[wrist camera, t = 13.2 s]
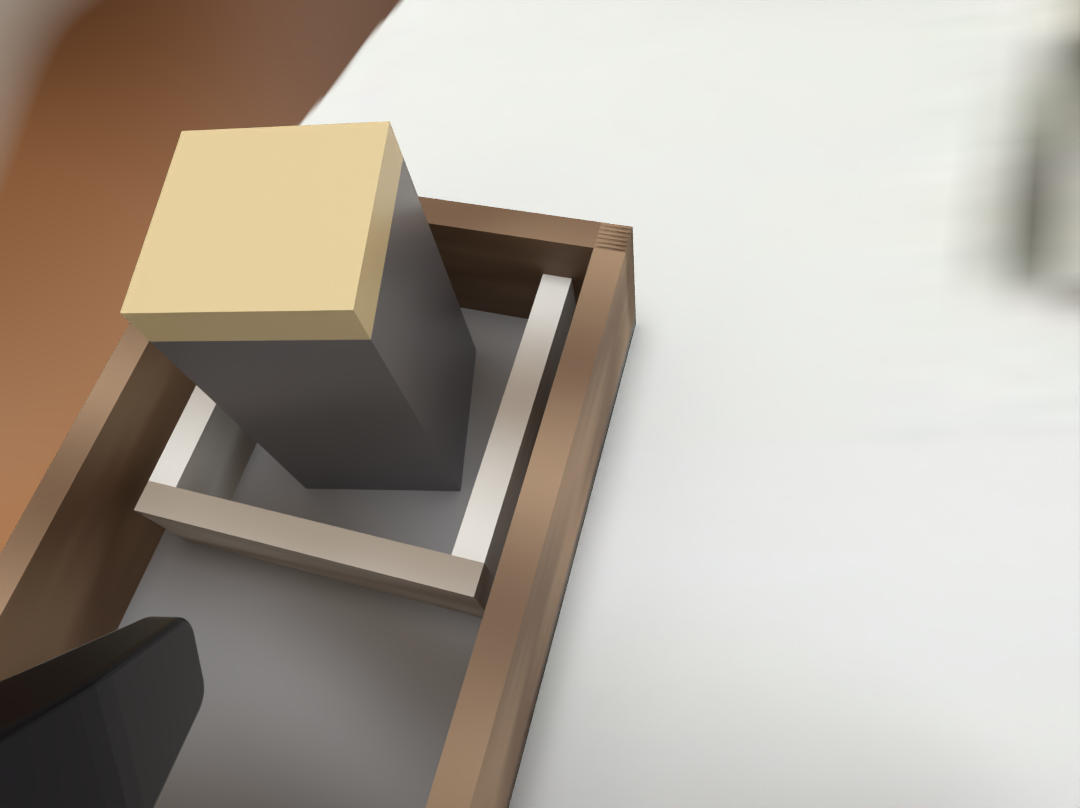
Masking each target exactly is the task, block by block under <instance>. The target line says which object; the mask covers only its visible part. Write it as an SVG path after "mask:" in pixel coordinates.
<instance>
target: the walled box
mask: <svg viewBox="0 0 1080 808" xmlns="http://www.w3.org/2000/svg"><path fill="white" fill-rule="evenodd" d="M418 198H419V201H420V203H421V206H422V208H423V211H424V214H425V216H426V219H427V222H428V224H429V227H430V230H431V232H432V235H433V237H434V240H435V243H436V245H437V248H438V251H439V253H440V256H441V259H442V261H443V264H444V266H445V269H446V272H447V274H448V277H449V280H450V282H451V285H452V288H453V290H454V293H455V295H456V298H457V301H458V303H459V306H460V309H461V311H462V314H463V317H464V319H465V322H466V324H467V327H468V330H469V332H470V335H471V338H472V340H473V343H474V346H475V348H476V359H475V368H474V377H473V385H472V394H471V403H470V412H469V421H468V430H467V439H466V448H465V457H464V466H463V475H462V484H461V491H413V490H354V489H306V488H305V487H304V486H303V485H302V484H301V483H300V482H299V481H298V480H296V479H295V478H294V477H293V476H292V475H291V474H290V473H289V472H288V471H287V470H286V469H285V468H284V467H283V466H282V465H281V464H279V463H278V462H277V461H276V460H275V459H274V458H273V457H272V456H271V455H270V454H269V453H268V452H267V451H266V450H265V449H264V448H263V447H261V446H260V445H259V444H258V443H257V442H256V441H255V440H254V439H253V438H252V437H251V436H250V435H249V434H248V433H247V432H246V431H244V430H243V429H242V428H241V427H240V426H239V425H238V424H237V423H236V422H235V421H234V420H233V419H232V418H231V417H230V416H229V415H228V414H226V413H225V412H224V411H223V410H222V409H221V408H220V407H219V406H218V405H217V404H216V403H215V402H214V401H213V400H212V399H211V398H209V397H208V396H207V395H206V394H205V393H204V392H203V391H202V390H201V389H200V388H199V387H198V386H197V385H196V384H195V383H194V382H193V381H191V380H190V379H189V378H188V377H187V376H186V375H185V374H184V373H183V372H182V371H181V370H180V369H179V368H178V367H177V366H176V365H174V364H173V363H172V362H171V361H170V360H169V359H168V358H167V357H166V356H165V355H164V354H163V353H162V352H161V351H160V350H159V349H158V348H156V347H155V346H154V345H153V344H152V343H151V342H150V341H149V340H148V339H147V338H146V337H145V336H144V335H143V334H142V333H141V332H139V331H138V330H137V329H136V328H135V327H134V326H133V325H132V324H131V323H129V325H128V327H127V329H126V331H125V332H124V334H123V336H122V338H121V339H120V341H119V343H118V345H117V347H116V348H115V350H114V352H113V354H112V356H111V358H110V359H109V361H108V363H107V364H106V366H105V368H104V370H103V372H102V373H101V375H100V377H99V379H98V381H97V382H96V384H95V386H94V388H93V390H92V391H91V393H90V395H89V397H88V399H87V400H86V402H85V404H84V406H83V407H82V409H81V411H80V413H79V415H78V417H77V418H76V420H75V422H74V424H73V425H72V427H71V429H70V431H69V432H68V434H67V436H66V438H65V440H64V441H63V443H62V445H61V447H60V449H59V450H58V452H57V454H56V456H55V458H54V459H53V461H52V463H51V465H50V467H49V468H48V470H47V472H46V474H45V476H44V477H43V479H42V481H41V483H40V484H39V486H38V488H37V490H36V492H35V493H34V495H33V497H32V499H31V501H30V502H29V504H28V506H27V508H26V510H25V511H24V513H23V515H22V517H21V519H20V520H19V522H18V524H17V526H16V527H15V529H14V531H13V533H12V535H11V536H10V538H9V540H8V542H7V543H6V546H5V547H4V549H3V551H2V553H1V554H0V681H2V680H4V679H7V678H9V677H11V676H13V675H16V674H18V673H20V672H23V671H25V670H27V669H29V668H32V667H34V666H36V665H38V664H41V663H43V662H45V661H47V660H50V659H52V658H54V657H57V656H59V655H61V654H63V653H66V652H68V651H70V650H72V649H75V648H77V647H79V646H81V645H84V644H86V643H88V642H90V641H93V640H95V639H97V638H100V637H102V636H104V635H106V634H109V633H111V632H113V631H115V630H118V629H120V628H122V627H124V626H127V625H129V624H131V623H134V622H136V621H138V620H140V619H143V618H145V617H150V616H160V617H181V618H184V619H186V620H187V621H188V622H189V623H190V624H191V626H192V628H193V632H194V636H195V641H196V646H197V651H198V655H199V660H200V665H201V670H202V675H203V679H204V696H203V701H202V704H201V707H200V710H199V712H198V714H197V716H196V718H195V721H194V723H193V725H192V727H191V729H190V731H189V733H188V736H187V738H186V740H185V742H184V744H183V746H182V748H181V751H180V753H179V755H178V757H177V759H176V761H175V763H174V766H173V768H172V770H171V772H170V774H169V776H168V778H167V780H166V783H165V785H164V787H163V789H162V791H161V793H160V795H159V798H158V800H157V802H156V804H155V806H154V808H508V807H509V803H510V800H511V796H512V792H513V788H514V784H515V780H516V777H517V773H518V769H519V765H520V761H521V758H522V754H523V750H524V746H525V742H526V739H527V735H528V731H529V727H530V723H531V720H532V716H533V712H534V708H535V704H536V701H537V697H538V693H539V689H540V685H541V682H542V678H543V674H544V670H545V666H546V663H547V659H548V655H549V651H550V647H551V644H552V640H553V636H554V632H555V628H556V624H557V621H558V617H559V613H560V609H561V605H562V602H563V598H564V594H565V590H566V586H567V583H568V579H569V575H570V571H571V567H572V564H573V560H574V556H575V552H576V548H577V545H578V541H579V537H580V533H581V529H582V526H583V522H584V518H585V514H586V510H587V507H588V503H589V499H590V495H591V491H592V488H593V484H594V480H595V476H596V472H597V468H598V465H599V461H600V457H601V453H602V449H603V446H604V442H605V438H606V434H607V430H608V427H609V423H610V419H611V415H612V411H613V408H614V404H615V400H616V396H617V392H618V389H619V385H620V381H621V377H622V373H623V370H624V366H625V362H626V358H627V354H628V351H629V347H630V343H631V339H632V335H633V331H634V328H635V324H636V314H635V285H634V256H633V227H630V226H622V225H615V224H608V223H601V222H594V221H587V220H580V219H573V218H566V217H559V216H552V215H545V214H538V213H531V212H524V211H517V210H510V209H502V208H495V207H488V206H481V205H474V204H467V203H460V202H453V201H446V200H439V199H432V198H425V197H418Z"/></svg>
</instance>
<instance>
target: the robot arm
mask: <svg viewBox="0 0 1080 808" xmlns="http://www.w3.org/2000/svg"><path fill="white" fill-rule="evenodd" d="M203 696H204V679H203V675H202V670H201V665H200V660H199V655H198V651H197V646H196V641H195V636H194V632H193V628H192V626H191V624H190V623H189V622H188V621H187V620H186V619H184V618H181V617H160V616H150V617H145V618H143V619H140V620H138V621H136V622H134V623H131V624H129V625H127V626H124V627H122V628H120V629H118V630H115V631H113V632H111V633H109V634H106V635H104V636H102V637H100V638H97V639H95V640H93V641H90V642H88V643H86V644H84V645H81V646H79V647H77V648H75V649H72V650H70V651H68V652H66V653H63V654H61V655H59V656H57V657H54V658H52V659H50V660H47V661H45V662H43V663H41V664H38V665H36V666H34V667H32V668H29V669H27V670H25V671H23V672H20V673H18V674H16V675H13V676H11V677H9V678H7V679H4V680H2V681H0V808H154V806H155V804H156V802H157V800H158V798H159V795H160V793H161V791H162V789H163V787H164V785H165V783H166V780H167V778H168V776H169V774H170V772H171V770H172V768H173V766H174V763H175V761H176V759H177V757H178V755H179V753H180V751H181V748H182V746H183V744H184V742H185V740H186V738H187V736H188V733H189V731H190V729H191V727H192V725H193V723H194V721H195V718H196V716H197V714H198V712H199V710H200V707H201V704H202V701H203Z"/></svg>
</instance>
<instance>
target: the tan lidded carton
mask: <svg viewBox="0 0 1080 808" xmlns="http://www.w3.org/2000/svg"><path fill="white" fill-rule="evenodd" d="M120 314H121V315H123V316H124V317H125V318H126V319H127V320H128V321H129V322H130V323H131V324H132V325H133V326H134V327H135V328H136V329H137V330H138V331H139V332H141V333H142V334H143V335H144V336H145V337H146V338H147V339H148V340H149V341H150V342H151V343H152V344H153V345H154V346H155V347H156V348H158V349H159V350H160V351H161V352H162V353H163V354H164V355H165V356H166V357H167V358H168V359H169V360H170V361H171V362H172V363H173V364H174V365H176V366H177V367H178V368H179V369H180V370H181V371H182V372H183V373H184V374H185V375H186V376H187V377H188V378H189V379H190V380H191V381H193V382H194V383H195V384H196V385H197V386H198V387H199V388H200V389H201V390H202V391H203V392H204V393H205V394H206V395H207V396H208V397H209V398H211V399H212V400H213V401H214V402H215V403H216V404H217V405H218V406H219V407H220V408H221V409H222V410H223V411H224V412H225V413H226V414H228V415H229V416H230V417H231V418H232V419H233V420H234V421H235V422H236V423H237V424H238V425H239V426H240V427H241V428H242V429H243V430H244V431H246V432H247V433H248V434H249V435H250V436H251V437H252V438H253V439H254V440H255V441H256V442H257V443H258V444H259V445H260V446H261V447H263V448H264V449H265V450H266V451H267V452H268V453H269V454H270V455H271V456H272V457H273V458H274V459H275V460H276V461H277V462H278V463H279V464H281V465H282V466H283V467H284V468H285V469H286V470H287V471H288V472H289V473H290V474H291V475H292V476H293V477H294V478H295V479H296V480H298V481H299V482H300V483H301V484H302V485H303V486H304V487H305V488H306V489H354V490H413V491H461V484H462V475H463V466H464V457H465V448H466V439H467V430H468V421H469V412H470V403H471V394H472V385H473V377H474V368H475V359H476V348H475V346H474V343H473V340H472V338H471V335H470V332H469V330H468V327H467V324H466V322H465V319H464V317H463V314H462V311H461V309H460V306H459V303H458V301H457V298H456V295H455V293H454V290H453V288H452V285H451V282H450V280H449V277H448V274H447V272H446V269H445V266H444V264H443V261H442V259H441V256H440V253H439V251H438V248H437V245H436V243H435V240H434V237H433V235H432V232H431V230H430V227H429V224H428V222H427V219H426V216H425V214H424V211H423V208H422V206H421V203H420V201H419V198H418V195H417V193H416V190H415V187H414V185H413V182H412V179H411V177H410V174H409V172H408V169H407V166H406V164H405V161H404V158H403V156H402V153H401V150H400V148H399V145H398V143H397V140H396V137H395V135H394V132H393V129H392V127H391V124H390V121H389V122H368V123H346V124H325V125H304V126H284V127H283V126H282V127H262V128H239V129H220V130H219V129H218V130H197V131H182V133H181V136H180V139H179V142H178V144H177V148H176V151H175V153H174V156H173V159H172V162H171V165H170V168H169V171H168V174H167V177H166V180H165V183H164V186H163V189H162V192H161V195H160V198H159V201H158V203H157V207H156V209H155V213H154V215H153V218H152V221H151V224H150V227H149V230H148V233H147V236H146V239H145V242H144V245H143V248H142V250H141V253H140V256H139V259H138V262H137V265H136V268H135V271H134V274H133V277H132V280H131V283H130V286H129V289H128V292H127V295H126V298H125V301H124V303H123V306H122V309H121V312H120Z"/></svg>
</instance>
